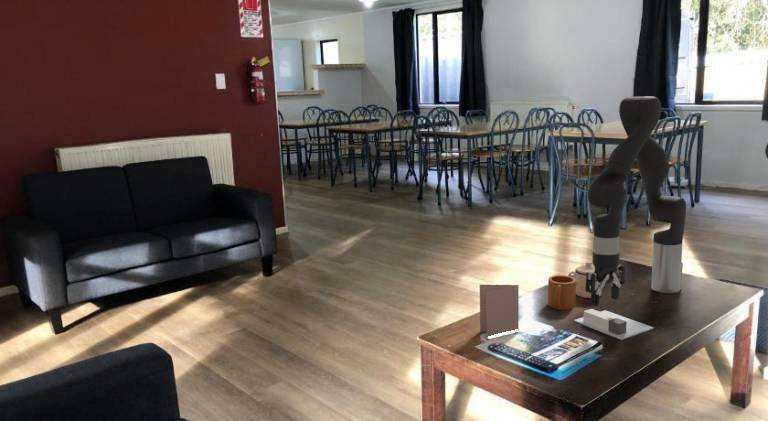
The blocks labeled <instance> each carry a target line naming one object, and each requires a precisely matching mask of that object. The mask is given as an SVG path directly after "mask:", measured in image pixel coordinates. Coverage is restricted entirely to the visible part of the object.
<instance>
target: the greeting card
mask: <svg viewBox="0 0 768 421" xmlns="http://www.w3.org/2000/svg"><path fill="white" fill-rule="evenodd" d="M479 327H480V328H479V329H480V330H479V332H486V331H487V332H486V338H487V337H488V336H491V335H494V334H498V333H502V332H506V331H511V330H515V329H518V330H519V284H479Z"/></svg>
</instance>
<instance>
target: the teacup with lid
mask: <svg viewBox="0 0 768 421" xmlns="http://www.w3.org/2000/svg"><path fill="white" fill-rule="evenodd" d="M594 271H595V267H594V265H593V261H586V262H585V264H582V265H578V266H576V268H575V270H574V271H570V272H569V273H568V274H567V276H570V277H572V274H573V275H575V279H576V295H577V296H579V297H580V298H586V299H591V293H589V292H586V291H585V290H586V274H587V273H588V272H589V273H594ZM597 283H598V284H600V283H599V282H598V281H597ZM590 289H591V286H590ZM596 289H597V287H596V288H595V290H596ZM602 289H603V288H601V290H600V292H599V297H600V296H602Z"/></svg>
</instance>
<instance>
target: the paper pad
mask: <svg viewBox="0 0 768 421" xmlns="http://www.w3.org/2000/svg"><path fill="white" fill-rule="evenodd" d="M600 312H602V313H605V314H607V315H610V316H613V317H616V318H618V319H621V320H624V321H627V324H626V333H623V334H620V335H617V334H614V333H612V332H609V331H607V330H604V329H601V328H599V327H596V326H594V325H591V324H589V323H586V322H583V320H584V316H581V317H579V318H576V319H574V320H573V321H574V322H575V323H578V324H580V325H583V326H586V327H588V328H591V329H593V330H596V331H598V332H601V333H603V334H605V335H608V336H611V337H613V338H616V339H619V340H621V341H623V340H625V339H628V338H631V337H634V336H637V335H640V334H643V333H645V332H648V331H652V330H653V329H654V327H653V326H650V325H647V324H645V323H643V322H639V321H637V320H633V319H631V318H627V317H625V316H623V315H621V314H617V313H614V312H611V311H608V310H602V311H600Z"/></svg>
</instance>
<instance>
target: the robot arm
mask: <svg viewBox="0 0 768 421" xmlns="http://www.w3.org/2000/svg"><path fill="white" fill-rule="evenodd" d="M618 112H619V119H620V122H621V124H622V127H623V129H624V131H625V133H626V136H627V137H626V138H625V139H624V140H622V141H621V142H620V143H618V145H617V146H616V147H614V149H613V150H612V152H611V154H610V155H609V158H608V160H607V162H606V165H605V167H604V168H603V170H602V172H600V174H599V175H598V176H597V177H596V179H595V180H594V181H593V182H592V183H591V185H590V187H589V189H588V192H587V200H588V203H589V204H590V205H591V206H593V207H597V208H606V209H609V211H608V213H603V214H599V215H596V216H595V217H594V219H593V220H594V221H593V240H592V265H594V267H595V271H594V273H589V272H588V273H587V274H586V290H585V291H586V292H589V293H591V298H590V303H591V305H592V306H594V307H598V306H600V296H599V292H600V290H601V291H602V289H603V288H604V287H605V285H607V284H610V285H611V288H610V289H611V290H610V294H611V295H610V297H611V299H613V300H616V301H617V300H619V297H620V288H621V285H625V282H626V276H625V275H626V272H625V270H626V269H625V268H626V267H625V265H623V264H620V256H621V255H620V253H621V252H620V250H621V249H620V248H621V247H620V246H621V245H620V244H621V241H620V224H621V223H620V221H621V217H622V214H623V211H624V207H625V206H626V205H625V204H626V202H627V198H628V194H627V189H626V188H625V187H624V186H623V185H621V184H623V183H626V182H627V180H628V178H629V176H630V174H631V171H632V170H633V166H634V164H635V163H636V165H637V169H638V171H639V175H640V177H641V180H642V184H643V187H644V188H643V189H644V191H645V195H646V196H645V197H646V202H647V207H648V211H649V215H650V217H651V220H653V221H654V222H659V223H666V224H670V225H669V228H668V229H665V230H660V231H657V232H655V233H654V234H653V242H652V245H653V246H652V266H651V267H652V270H651V290H652V291H655V292H657V293H661V294H676V293H680V291H681V289H682V285H683V282H682V281H683V269H684V268H683V266H684V265H683V264H684V263H683V262H682V257H683V239H684V233H685V224H686V216H687V203H686V200H685V199H684V198H683V197H680V196H673V195H672V196H671V195H664V194H662V192H661V186H662V185H663V183H664V181H666V179H667V177H668V175H669V172H670V163H669V159H668V156H667V153H666V150H665V148H663V146H662V145H661V144H660V143H659V142H658V141H656V140H655V139H654V138H653V136H652V137H651V134H652V133H653V131H654V129H655V128H656V127H657V125H658V122H659V121H660V119H661V114H662V103H661V101H660V99H659V98H658V97H656V96H650V95H649V96H646V95H645V96H630V97H629V96H628V97H625V98H623V99H622V100H621V101H620V103H619V110H618ZM597 281H598V282H599V283H600V284H598V283H597ZM590 286H591V289H590ZM596 287H597V289H596V290H595V288H596ZM601 288H602V289H601Z"/></svg>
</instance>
